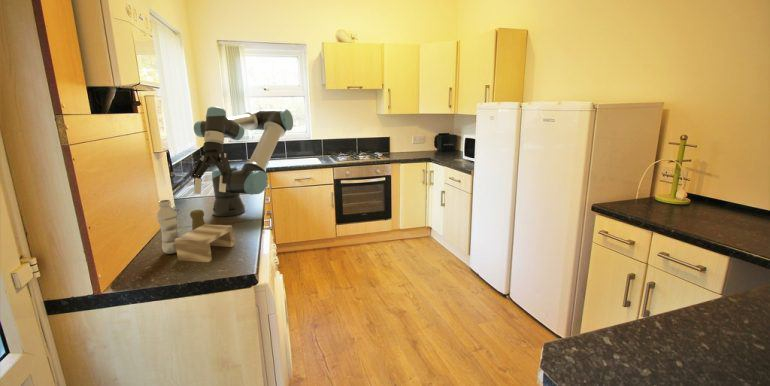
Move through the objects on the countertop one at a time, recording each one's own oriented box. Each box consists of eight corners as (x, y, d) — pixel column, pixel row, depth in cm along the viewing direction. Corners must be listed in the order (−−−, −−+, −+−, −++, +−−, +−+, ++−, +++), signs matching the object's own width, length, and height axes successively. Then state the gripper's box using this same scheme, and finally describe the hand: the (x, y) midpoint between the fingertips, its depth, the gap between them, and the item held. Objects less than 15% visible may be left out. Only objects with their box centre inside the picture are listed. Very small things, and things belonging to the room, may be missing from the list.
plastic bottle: (161, 257, 131) (152, 204, 126) (164, 250, 137) (155, 200, 132) (182, 254, 133) (173, 202, 128) (183, 247, 139) (175, 197, 134)
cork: (201, 238, 149) (197, 212, 146) (188, 237, 150) (185, 212, 148) (211, 233, 155) (207, 208, 152) (198, 232, 156) (195, 208, 153)
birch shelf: (207, 243, 143) (204, 224, 141) (234, 244, 141) (232, 225, 139) (178, 260, 128) (174, 239, 126) (208, 262, 126) (205, 241, 124)
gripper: (184, 144, 153) (179, 193, 149) (229, 137, 144) (225, 189, 140) (199, 148, 160) (194, 195, 156) (243, 142, 151) (239, 192, 147)
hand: (209, 192), depth 148 cm, fingers open, 13 cm apart
